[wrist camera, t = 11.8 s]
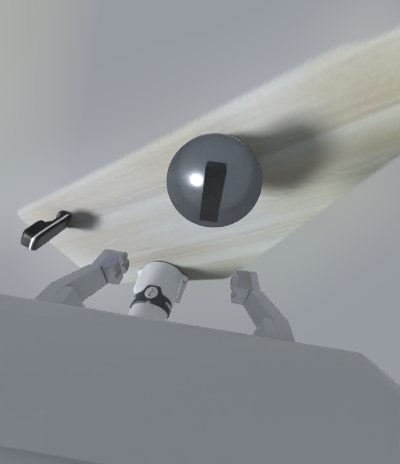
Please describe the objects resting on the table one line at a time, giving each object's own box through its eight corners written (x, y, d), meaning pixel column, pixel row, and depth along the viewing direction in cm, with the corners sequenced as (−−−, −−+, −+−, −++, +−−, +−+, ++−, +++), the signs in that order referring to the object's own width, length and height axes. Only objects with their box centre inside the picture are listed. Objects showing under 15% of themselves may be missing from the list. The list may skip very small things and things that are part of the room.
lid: (245, 228, 27) (249, 244, 24) (169, 217, 27) (162, 232, 24) (275, 140, 19) (286, 146, 16) (167, 126, 20) (156, 129, 16)
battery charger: (59, 206, 46) (19, 230, 37) (72, 215, 48) (37, 239, 39) (53, 220, 50) (15, 245, 41) (66, 228, 51) (32, 253, 42)
